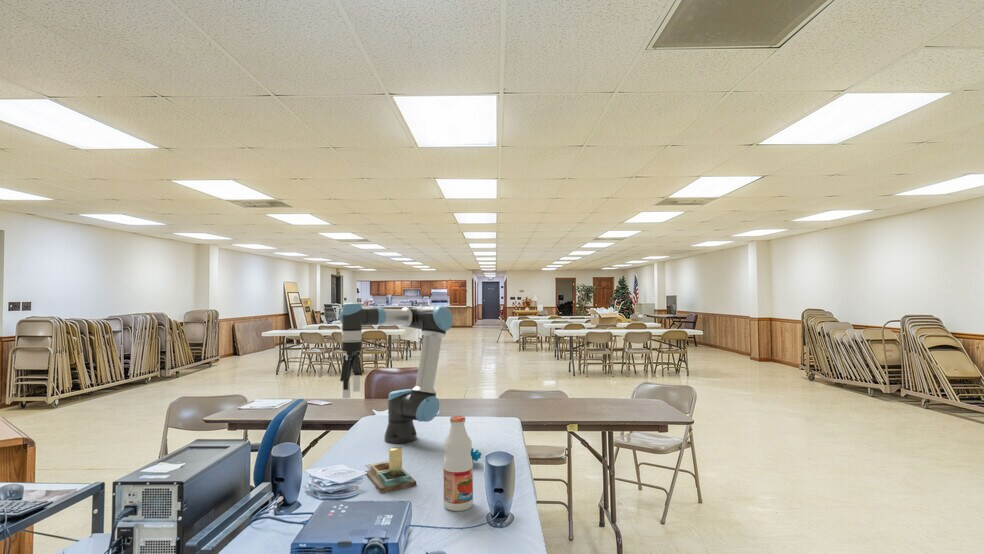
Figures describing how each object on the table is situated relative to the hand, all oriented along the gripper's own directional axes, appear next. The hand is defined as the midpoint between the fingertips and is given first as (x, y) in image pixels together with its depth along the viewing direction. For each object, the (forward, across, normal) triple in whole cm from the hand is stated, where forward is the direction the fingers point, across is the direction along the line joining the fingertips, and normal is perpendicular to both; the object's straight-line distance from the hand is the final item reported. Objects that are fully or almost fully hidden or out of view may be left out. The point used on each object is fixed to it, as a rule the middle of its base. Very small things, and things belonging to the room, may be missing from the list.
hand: (351, 394), depth 190 cm
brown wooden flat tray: (+29, +14, +18) cm, 37 cm away
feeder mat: (+29, 0, +12) cm, 31 cm away
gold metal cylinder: (+27, +18, +21) cm, 39 cm away
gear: (+29, -2, +46) cm, 55 cm away
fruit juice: (+29, +36, +45) cm, 65 cm away
